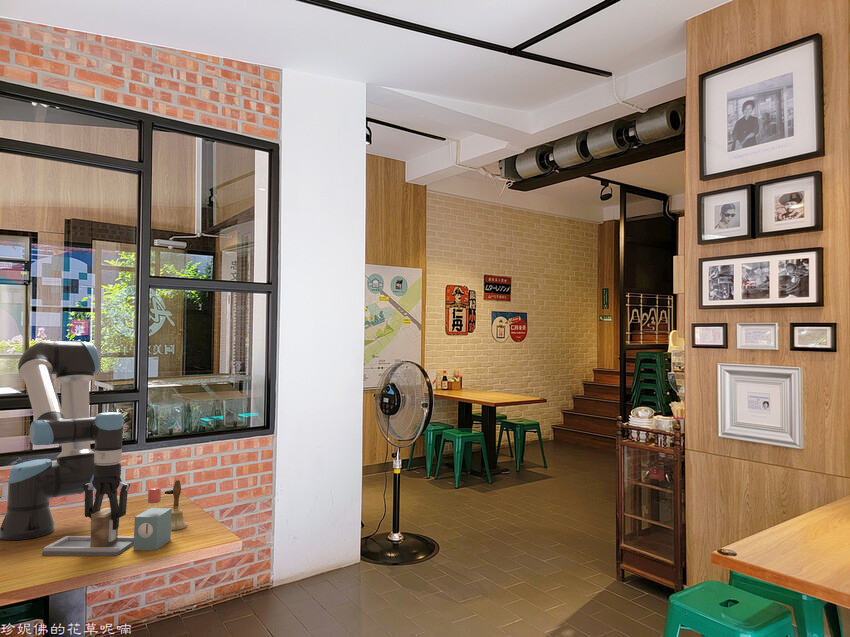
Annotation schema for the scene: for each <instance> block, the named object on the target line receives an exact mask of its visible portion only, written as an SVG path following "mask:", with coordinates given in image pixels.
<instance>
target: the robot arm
mask: <svg viewBox="0 0 850 637" xmlns="http://www.w3.org/2000/svg"><path fill="white" fill-rule="evenodd" d="M100 364H101V363H100V355H99V351H98V349H97V347H96V346H95V344H94V343H92V342H87V341H86V342H85V341H81V340H80V341H52V340H45V341H39V342H37V343H35V344H33V345H31V346H30V347H28V349H26V350H25V351H24V352H23V353H22V355H21V357H20V358H19V361H18V366H17V370H18V375H19V376H20V378H21V379H22V380H23V381H24V383H25V386H26V391H27V394H28V399H29V401H30V405H31V409H32V414H33V416H34V420H33V421H32V422H31V424H30V428H29V440H30V443H31V444H32V445H33V446H50V445H60V444H61V452H60V453H59V454H58V455H57V456H56V462H53V461H52V459H49V458H43V459H42V458H41V459H40V458H39V459H33V460H28V461H25V462H20V463H17V464H15V465H13V466H12V467H11V468H10V469H9V473H8V480H7V484H8V485H7V503H6V504H7V505H6V513H5V515H4V518H3V520H2V523H1V525H0V540H4V541H21V540H29V539H34V538H39V537H44V536H46V535H49V534H51V533H53V532H54V531H55V521H54V517H53V514H52V511H51V508H50V501H51V499H54V498H61V497H68V496H69V497H70V496H75V495H83V494H84V517H85V518H89V519H90V520H91V519H92V517H91V515H92V514H94V513H96V512H98V511H100V510H101V507H102V504H103V500H104V496H105V495H107V498H108V500H109V507H110V508H111V514H112V518H111V519H110V520H109V540H108V542H111V541H113V540H114V539H116V529H118V530H119V527H120V518H122V517H125V515H126V514H127V507H128V506H127V504H128V492H129V489H130V487H131V484H130V483H128V482H127V483H125V482H123V481H122V479H121V475H122V463H121V462H122V460H123V457H122V455H123V454H122V452H123V435H124V432H123V431H124V425H125V424H124V415H123V413H122V412H115V411H109V412H99V413H97V415H91V414H90V413H91V412H90V411H91V410H90V382H91V381H92V380H93V379H94V377H95V374H97V373H98V372H99V370H100ZM52 375H56V376H55V377H56V379H55V380H56V381H57V382H58V383H60V385H61V386H60V387H61V391H60V392H61V403H60V400H59V396H58V392H57V390H56V387H55V382H54V379H53V377H52ZM92 441H93V442H94V450H92V448H91V442H92ZM118 489H119V491H120V492H119V499H118ZM95 490H96V491H95ZM94 491H95V494H94ZM94 497H95V498H94Z"/></svg>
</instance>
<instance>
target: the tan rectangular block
mask: <svg viewBox="0 0 850 637" xmlns="http://www.w3.org/2000/svg"><path fill="white" fill-rule="evenodd" d="M91 517H92V519H91V518H90V536H91V541H90V547H107V546H109V545H111V544H112V543H114V542H116V541H117V539H118V537H119V528H118V529H116V539H114V540H113V541H111V542H108V540H109V520H110V519H111V518H112V514H111V508H110V506H108V507H104V508H102V509H100V511H98V512H96V513H94V514H92V515H91Z"/></svg>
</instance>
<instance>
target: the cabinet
mask: <svg viewBox="0 0 850 637" xmlns="http://www.w3.org/2000/svg"><path fill="white" fill-rule="evenodd" d="M172 509H173V507H172V508H171V507H170V508H169V507H168V508H165V507H164V508H163V507H161V508H160V507H150V508H148V509H146V510H144V511H142V512H141V513H139V514H137V515H135V516H134V524H133V525H134V527H133V528H134V529H133V537H134V545H133V551H158V550H159V549H160V548H162V547H163V546H165V544H167V543H168V542H169V541H171V539H172V538H171V532H172V530H171V514H172Z"/></svg>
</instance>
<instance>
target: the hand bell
mask: <svg viewBox="0 0 850 637" xmlns="http://www.w3.org/2000/svg"><path fill="white" fill-rule="evenodd" d="M181 492H182V486H181V481H180V479H176V480H175V481H174V484H173V487H172V495H173V505H172V506H173V507H172V514H171V531H178V530H182V529H185V528H187V527H188V526H189V524H188V523H187V522H186V520H185V519H184V513H183V509H180V508H179V502H180V501H179V500H180V496H181Z"/></svg>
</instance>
